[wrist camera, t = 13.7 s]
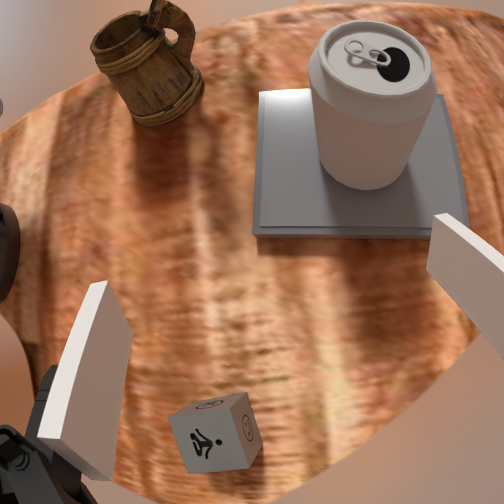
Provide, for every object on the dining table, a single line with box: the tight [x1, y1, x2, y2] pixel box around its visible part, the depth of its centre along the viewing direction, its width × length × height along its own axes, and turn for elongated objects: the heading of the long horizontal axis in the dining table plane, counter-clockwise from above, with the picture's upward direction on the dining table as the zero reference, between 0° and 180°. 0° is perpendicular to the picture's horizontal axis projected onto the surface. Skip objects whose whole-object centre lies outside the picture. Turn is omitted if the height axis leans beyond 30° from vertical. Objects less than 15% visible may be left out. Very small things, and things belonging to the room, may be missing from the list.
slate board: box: [252, 89, 469, 240], centre depth 25 cm, size 18×14×2 cm
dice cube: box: [168, 392, 263, 474], centre depth 22 cm, size 5×5×5 cm
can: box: [308, 20, 437, 190], centre depth 19 cm, size 8×8×12 cm
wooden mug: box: [90, 0, 203, 127], centre depth 23 cm, size 9×14×18 cm, turn 90°
